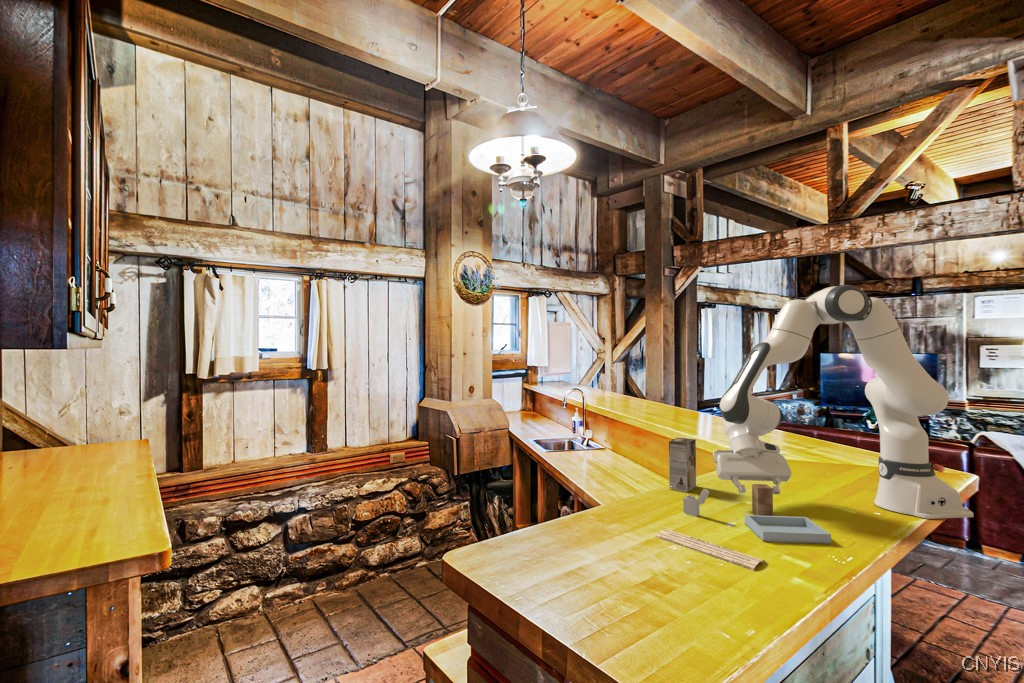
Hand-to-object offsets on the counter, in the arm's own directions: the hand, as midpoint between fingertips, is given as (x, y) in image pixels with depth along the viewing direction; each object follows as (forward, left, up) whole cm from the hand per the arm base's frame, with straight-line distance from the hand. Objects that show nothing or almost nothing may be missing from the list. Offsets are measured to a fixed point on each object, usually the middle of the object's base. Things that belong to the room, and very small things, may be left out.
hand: (759, 492), depth 137 cm
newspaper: (+22, +27, -7) cm, 35 cm away
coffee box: (+16, -23, -6) cm, 28 cm away
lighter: (+19, +4, -6) cm, 20 cm away
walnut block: (0, +1, -6) cm, 6 cm away
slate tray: (0, +15, -6) cm, 16 cm away
